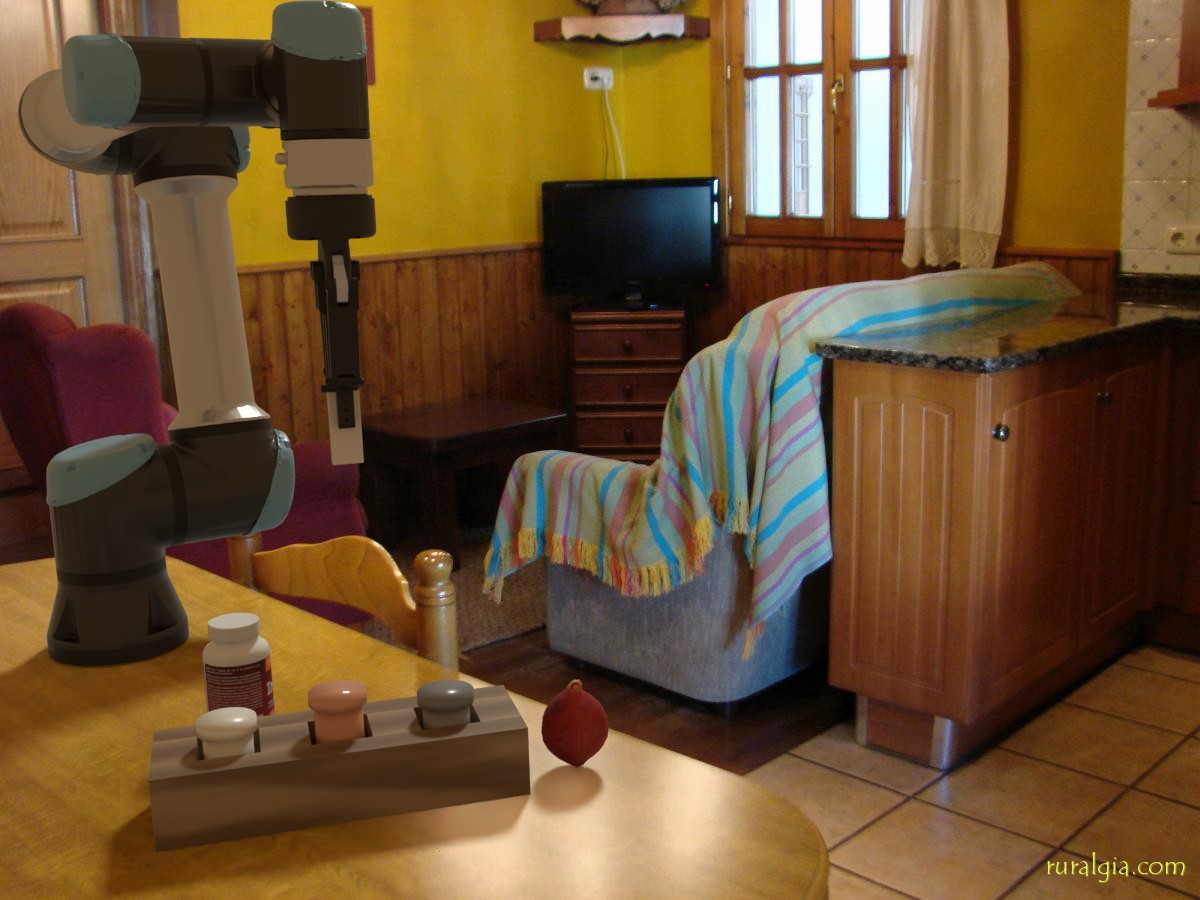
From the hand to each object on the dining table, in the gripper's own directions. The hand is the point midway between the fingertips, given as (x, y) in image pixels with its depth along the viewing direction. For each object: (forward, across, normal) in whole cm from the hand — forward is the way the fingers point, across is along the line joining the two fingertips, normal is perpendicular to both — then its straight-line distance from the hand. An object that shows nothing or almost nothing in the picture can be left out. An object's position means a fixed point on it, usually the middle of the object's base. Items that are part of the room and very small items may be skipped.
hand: (347, 461), depth 117 cm
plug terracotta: (+25, +11, -3) cm, 27 cm away
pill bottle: (+27, -6, -11) cm, 29 cm away
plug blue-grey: (+26, +11, +6) cm, 29 cm away
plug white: (+26, +11, -12) cm, 31 cm away
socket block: (+26, +11, -3) cm, 29 cm away
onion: (+27, +12, +17) cm, 34 cm away
